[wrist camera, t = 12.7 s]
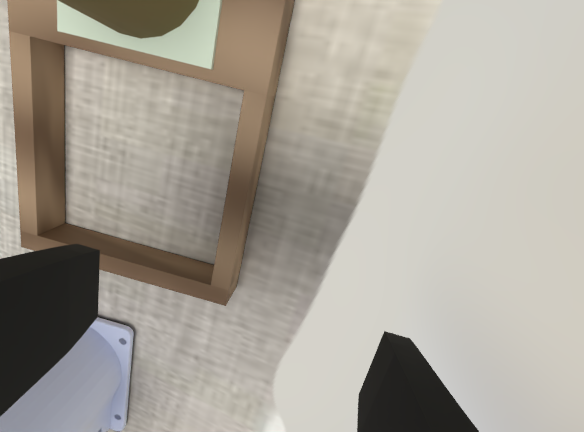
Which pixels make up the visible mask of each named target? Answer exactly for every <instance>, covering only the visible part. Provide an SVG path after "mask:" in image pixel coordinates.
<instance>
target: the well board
mask: <svg viewBox="0 0 584 432" xmlns="http://www.w3.org/2000/svg"><path fill="white" fill-rule="evenodd" d="M7 1H8V18H9V36H10V54H11V72H12V89H13V107H14V125H15V142H16V160H17V178H18V195H19V213H20V231H21V247H24V248H27V249H31V250H34V251H39V250H43V249H48V248H53V247H58V246H64V245H71V244H80V245H84V246H87V247H91V248H94V249H98V250H100V262H99V269H100V270H103V271H107V272H110V273H114V274H117V275H121V276H124V277H128V278H131V279H135V280H138V281H141V282H145V283H148V284H152V285H155V286H159V287H162V288H166V289H169V290H173V291H176V292H180V293H183V294H187V295H190V296H193V297H197V298H200V299H204V300H207V301H211V302H214V303H218V304H221V305H225V306H226V304H227V303H228V301H229V299H230V297H231V296H232V294H233V292H234V290H235V288H236V287H237V282H238V277H239V272H240V267H241V262H242V257H243V252H244V247H245V242H246V238H247V233H248V228H249V223H250V218H251V213H252V208H253V203H254V198H255V193H256V188H257V183H258V178H259V174H260V169H261V164H262V159H263V154H264V149H265V144H266V139H267V134H268V129H269V124H270V119H271V115H272V110H273V105H274V100H275V95H276V90H277V85H278V80H279V75H280V70H281V65H282V60H283V56H284V51H285V46H286V41H287V36H288V31H289V26H290V21H291V16H292V11H293V6H294V1H295V0H199V2H198V4H197V6H196V8H195V10H194V11H193V12H192V13H191V14H190V15H189V17H188V18H187V19H186V20H185V21H184V22H183V23H182V25H181V26H179V27H177V28H176V29H174V30H172V31H170V32H168V33H166V34H165V35H163V36H159V37H150V38H142V39H140V38H136V37H132V36H128V35H125V34H121V33H118V32H116V31H115V30H113V29H111V28H109V27H107V26H105V25H103V24H101V23H99V22H98V21H96V20H94V19H92V18H90V17H88V16H86V15H84V14H83V13H81V12H79V11H77V10H75V9H73V8H71V7H69V6H67V5H66V4H64V3H62V2H60V1H58V0H7ZM64 45H66V46H70V47H74V48H78V49H82V50H86V51H90V52H94V53H98V54H102V55H106V56H110V57H114V58H118V59H122V60H126V61H130V62H134V63H138V64H142V65H146V66H150V67H154V68H158V69H162V70H166V71H170V72H173V73H177V74H181V75H185V76H189V77H193V78H197V79H201V80H205V81H209V82H213V83H217V84H221V85H225V86H229V87H233V88H237V89H241V90H244V95H243V101H242V106H241V112H240V118H239V124H238V130H237V135H236V141H235V147H234V153H233V159H232V165H231V170H230V176H229V182H228V188H227V194H226V200H225V205H224V211H223V217H222V223H221V229H220V235H219V240H218V246H217V252H216V258H215V264H214V265H211V264H208V263H204V262H201V261H197V260H194V259H190V258H187V257H183V256H180V255H176V254H173V253H169V252H165V251H162V250H158V249H155V248H151V247H148V246H144V245H141V244H137V243H134V242H130V241H127V240H123V239H119V238H116V237H112V236H109V235H105V234H102V233H98V232H95V231H91V230H88V229H84V228H80V227H77V226H73V225H70V224H66V223H65V106H64Z"/></svg>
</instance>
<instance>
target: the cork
mask: <svg viewBox="0 0 584 432" xmlns="http://www.w3.org/2000/svg"><path fill="white" fill-rule="evenodd" d="M58 1H60V2H62V3H64V4H66V5H67V6H69V7H71V8H73V9H75V10H77V11H79V12H81V13H83V14H84V15H86V16H88V17H90V18H92V19H94V20H96V21H98V22H99V23H101V24H103V25H105V26H107V27H109V28H111V29H113V30H115V31H116V32H118V33H121V34H125V35H128V36H132V37H136V38H140V39H142V38H150V37H159V36H163V35H165V34H166V33H168V32H170V31H172V30H174V29H176V28H177V27H179V26H181V25H182V23H183V22H184V21H185V20H186V19H187V18H188V17H189V15H190V14H191V13H192V12H193V11H194V10H195V8H196V6H197V4H198V2H199V0H58Z"/></svg>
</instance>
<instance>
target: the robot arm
mask: <svg viewBox="0 0 584 432" xmlns="http://www.w3.org/2000/svg"><path fill="white" fill-rule="evenodd" d="M99 262H100V250H98V249H94V248H91V247H87V246H84V245H80V244H71V245H64V246H58V247H53V248H48V249H43V250H39V251H34V252H29V253H25V254H20V255H16V256H12V257H7V258H3V259H0V432H107V431H108V430H109V429H112V430H115V431H122V430H123V429H124V428H125V426H126V420H127V408H128V396H129V384H130V371H131V359H132V347H133V335H134V333H133V330H132V329H131V328H130V327H128V326H126V325H122V324H119V323H116V322H112V321H109V320H106V319H102V318H99V317H98V290H99ZM123 338H124V339H125V340H124V339H123ZM357 432H479V431H478V430H477V428H476V427H475V426H474V424H473V423H472V422H471V421H470V419H469V418H468V417H467V415H466V414H465V413H464V411H463V410H462V409H461V407H460V406H459V405H458V403H457V402H456V401H455V399H454V398H453V396H452V395H451V394H450V392H449V391H448V390H447V388H446V387H445V386H444V384H443V383H442V381H441V380H440V379H439V377H438V376H437V374H436V373H435V372H434V371H433V369H432V368H431V366H430V365H429V363H428V362H427V361H426V359H425V358H424V356H423V355H422V354H421V352H420V351H419V350H418V348H417V347H416V346H415V344H414V343H413V342H412V341H411V339H410V338H405V337H402V336H399V335H395V334H392V333H388V332H384V334H383V336H382V339H381V341H380V344H379V346H378V349H377V351H376V354H375V356H374V359H373V361H372V364H371V366H370V368H369V371H368V373H367V376H366V378H365V381H364V383H363V386H362V388H361V391H360V393H359V402H358V428H357Z"/></svg>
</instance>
